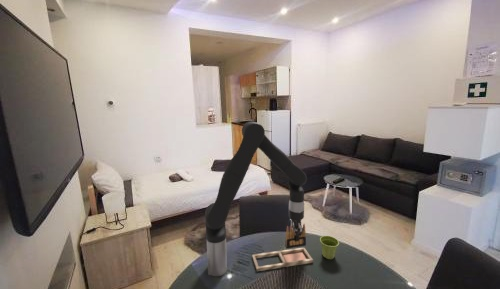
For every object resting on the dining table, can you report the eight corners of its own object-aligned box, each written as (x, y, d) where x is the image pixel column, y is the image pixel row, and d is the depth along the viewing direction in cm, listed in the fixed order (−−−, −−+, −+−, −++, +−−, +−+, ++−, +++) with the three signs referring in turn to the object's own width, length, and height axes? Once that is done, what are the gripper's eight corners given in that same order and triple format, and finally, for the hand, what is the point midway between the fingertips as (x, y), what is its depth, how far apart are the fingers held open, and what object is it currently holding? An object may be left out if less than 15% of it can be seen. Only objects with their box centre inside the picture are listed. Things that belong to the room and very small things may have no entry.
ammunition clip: (286, 248, 118) (286, 227, 115) (285, 246, 120) (285, 225, 117) (306, 245, 120) (306, 224, 118) (304, 243, 122) (305, 222, 119)
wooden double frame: (256, 271, 112) (256, 268, 111) (252, 257, 122) (252, 254, 121) (313, 262, 118) (313, 259, 117) (304, 249, 127) (304, 247, 127)
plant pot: (335, 250, 127) (336, 236, 125) (340, 262, 118) (341, 246, 116) (317, 249, 128) (318, 235, 126) (321, 261, 119) (322, 245, 117)
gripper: (284, 203, 122) (283, 233, 125) (294, 215, 108) (293, 249, 112) (297, 201, 123) (297, 231, 126) (309, 213, 110) (308, 246, 113)
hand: (295, 239), depth 119 cm, fingers closed on ammunition clip, 2 cm apart
